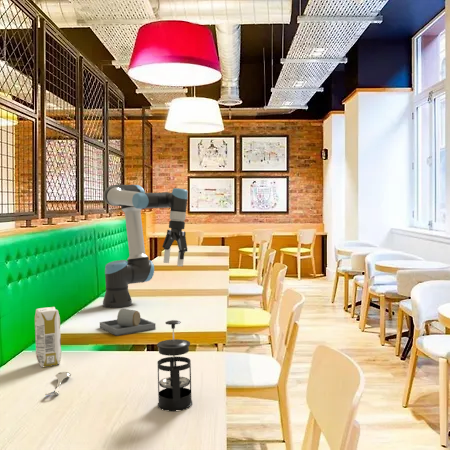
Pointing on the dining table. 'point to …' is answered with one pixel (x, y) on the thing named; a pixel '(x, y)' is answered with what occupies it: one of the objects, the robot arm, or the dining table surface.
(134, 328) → the tray
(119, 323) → the ceramic mug
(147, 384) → the dining table surface
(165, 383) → the french press
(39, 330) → the juice carton
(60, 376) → the grey elongated piece
